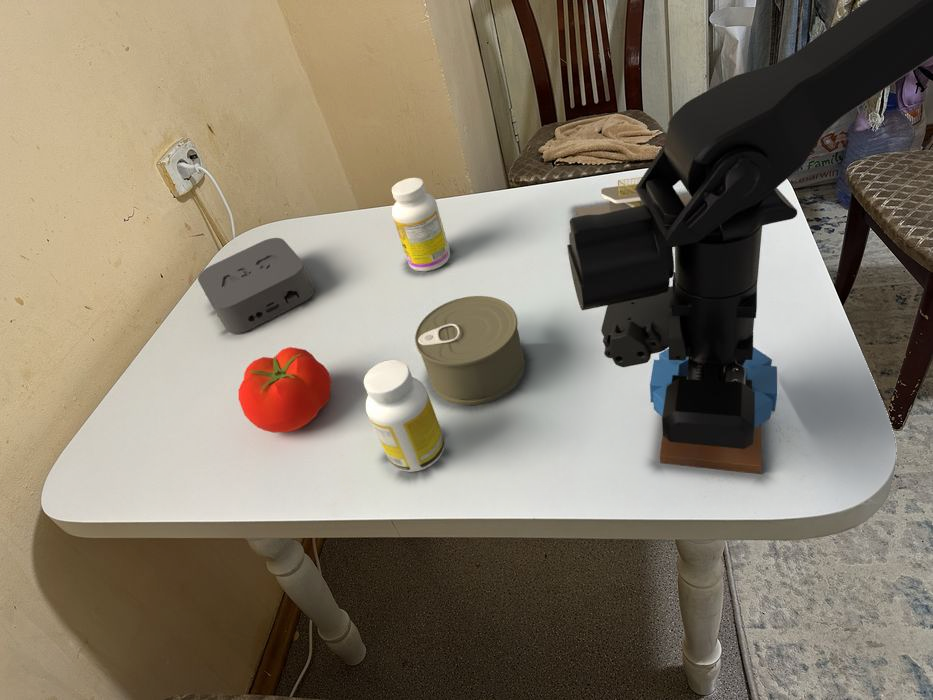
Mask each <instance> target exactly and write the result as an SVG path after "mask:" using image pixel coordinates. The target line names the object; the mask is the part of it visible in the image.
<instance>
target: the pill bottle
mask: <svg viewBox="0 0 933 700" xmlns="http://www.w3.org/2000/svg"><path fill="white" fill-rule="evenodd" d="M363 385H364V389H365V391H366V393H367V397H366V401H365V411H366V414H367V417H368V419H369V420H370V423H371V425H372V427H373V429H374V431H375V433H376V435H377V437H378V440H379V443H380V444H381V447H382V448H383V450H384V452H385V454H386V457H387V459H388V461H389V462H390V464H391V465H392V466H393V467H394V468H396V469H397V470H400V471H403V472H408V473H410V472H411V473H412V472H413V473H415V472H419V471H422V470H425V469H427V468H429V467H431V466H432V465H434V464H435V463H436V462H437V461H438V460H439V459H440V457H441V456H442V455H443V452H444V450H445V443H446V442H445V437H444V433H443V431H442V428H441V426H440V422H439V420H438V418H437V415H436V412H435V408H434V407H433V403H432V401H431V398H430V396H429V393H428V390H427V388H426V386H425V385H424V383H423V382H422V381H421V380H419V379H418V378H416V377H413V375H412V373H411V371H410V368H409V366H408V365H407V364H406V362H403V361H401V360H398V359H391V360H390V359H389V360H384V361H382V362H379V363H377V364H375V365H374V366H372V367H371V368H370V369H369V370H368V371H367V372H366V374H365V375H364V379H363Z"/></svg>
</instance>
